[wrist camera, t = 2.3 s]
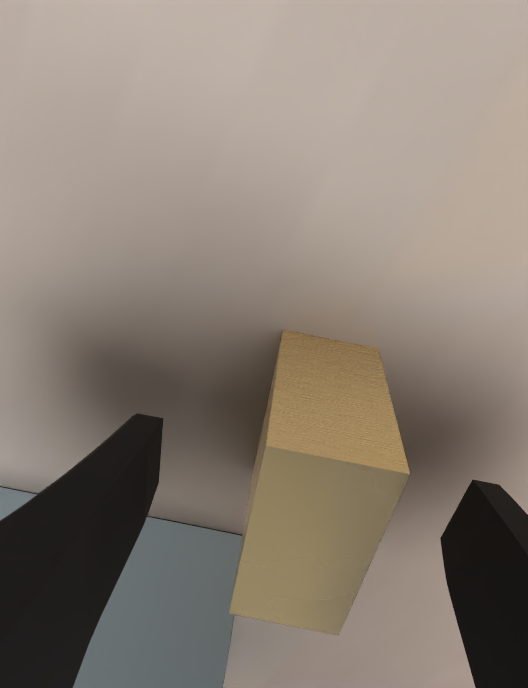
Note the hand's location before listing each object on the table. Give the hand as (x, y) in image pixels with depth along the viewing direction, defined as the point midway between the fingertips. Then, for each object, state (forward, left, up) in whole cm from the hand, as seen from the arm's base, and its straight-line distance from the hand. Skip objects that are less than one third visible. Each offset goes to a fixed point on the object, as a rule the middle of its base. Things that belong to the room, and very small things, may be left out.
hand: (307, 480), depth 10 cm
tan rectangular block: (0, 0, -3) cm, 3 cm away
